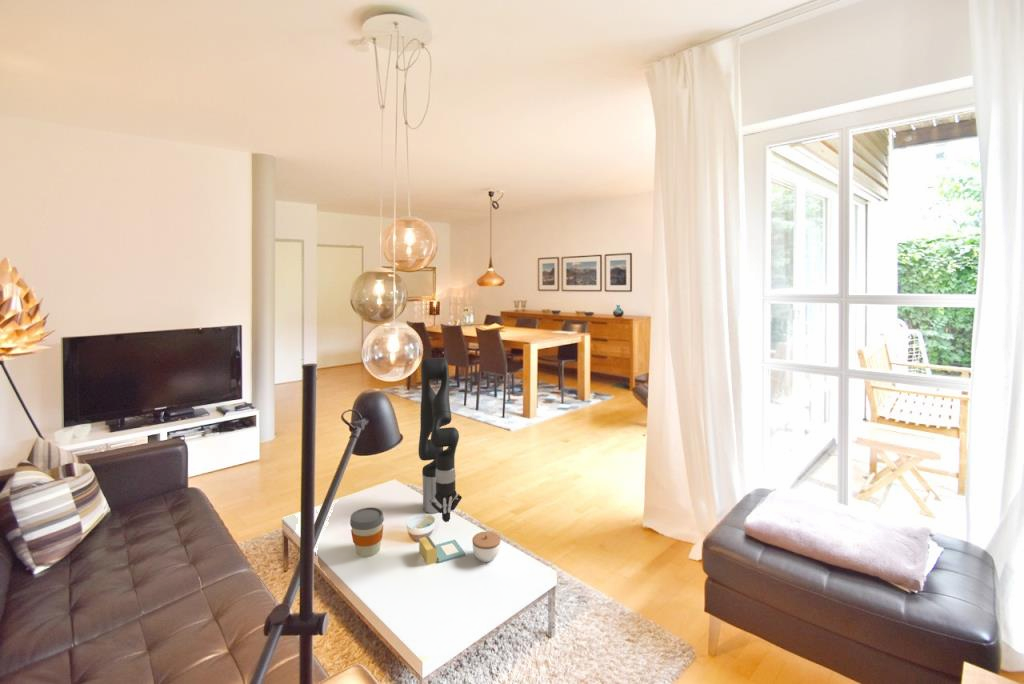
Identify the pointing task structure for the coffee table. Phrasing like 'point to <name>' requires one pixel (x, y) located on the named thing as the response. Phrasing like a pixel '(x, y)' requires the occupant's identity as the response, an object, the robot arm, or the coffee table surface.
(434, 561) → the yellow box with stripe
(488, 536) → the lidded jar
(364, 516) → the reusable coffee cup
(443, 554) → the spiral notebook
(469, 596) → the coffee table surface
